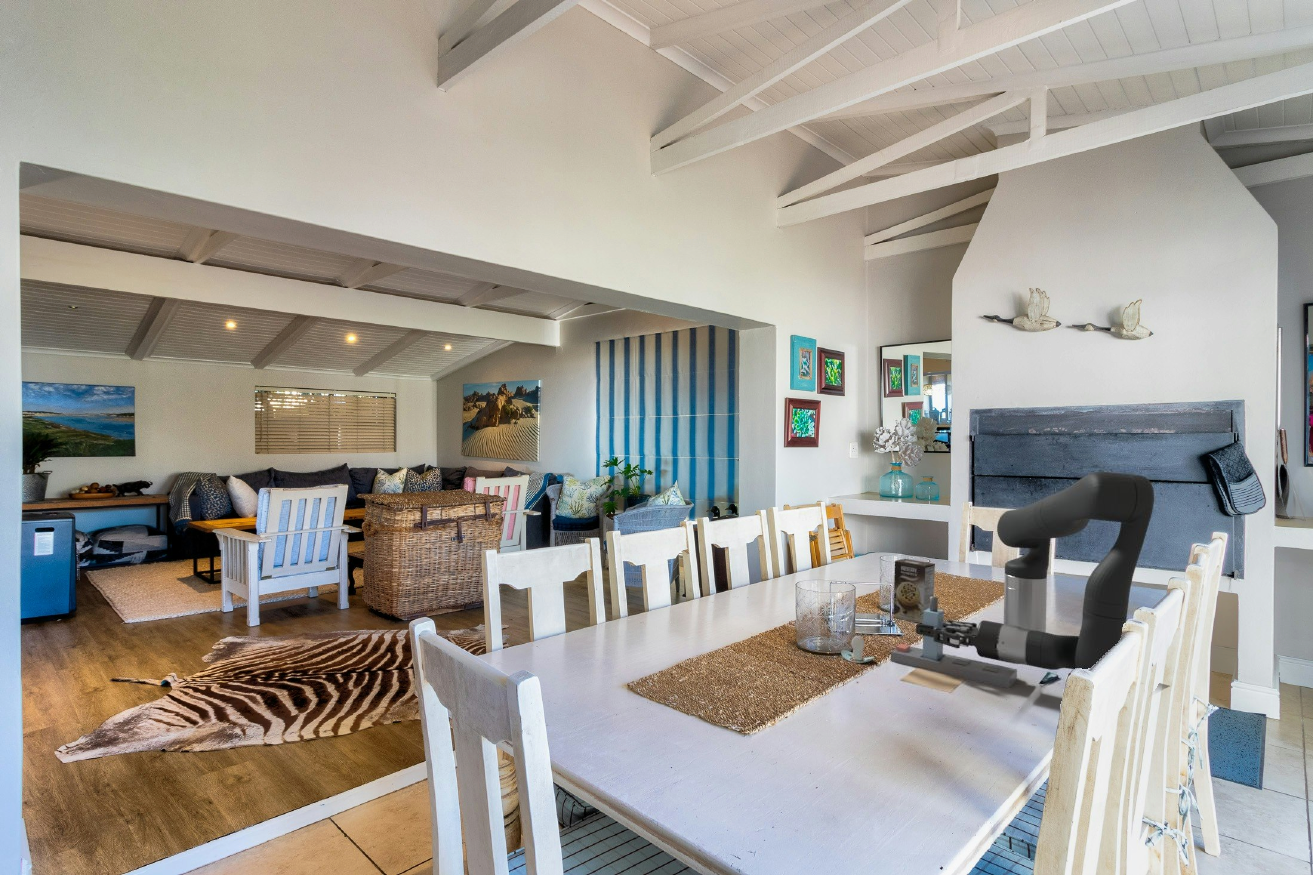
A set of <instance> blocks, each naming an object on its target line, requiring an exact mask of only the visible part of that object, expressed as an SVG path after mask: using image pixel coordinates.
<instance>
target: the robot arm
mask: <svg viewBox="0 0 1313 875" xmlns="http://www.w3.org/2000/svg"><path fill="white" fill-rule="evenodd" d="M1154 504H1155V491H1154V488H1153V484H1152V482H1151V481H1150V479H1148V478H1147V477H1146V476H1143V475H1140V474H1132V473H1121V472H1120V473H1119V472H1110V471H1095V472H1091V473H1089V474H1088V473H1087V474H1086V475H1085V476H1083V477H1082V478H1080V479H1079V480H1078V481H1076V482H1075V483H1073V484H1072V485H1071V486H1069V487H1067V488H1065V489H1063V490H1061V491H1058V492H1055V493H1052V494H1050V495H1048V496H1046V497H1044V498H1042V499H1040V500H1037V501H1035V502H1032V503H1030V504H1029V505H1026V506H1024V507H1022V508H1021V507H1020V508H1017V509H1010V510H1006V511H1005V512H1003V514H1001V515H1000V517H999V519H998V522H997V525H996V532H997V536H998V538H999V540H1000V541H1001V542H1002V544H1004V545H1005V546H1007V547H1010V548H1015V549H1027V551H1026V552H1025V553H1024V554H1023V555H1021V556H1019V557H1017V558H1015V559H1014V558H1013V559H1011V560H1008V561H1007V562H1005V564H1004V583H1003V584H1004V587H1003V588H1004V589H1003V590H1004V593H1003V600H1004V601H1003V623H1002V622H997V621H995V622H994V621H990V620H986V619H985V620H981V621H980V622H979V623H978V624H977V623H975V622H968V621H958V620H957V621H955V620H947V621H944V620H943V628H942V627H934V626H929V625H923V624H920V623H917V624H916V625H915V633H916V635H920V636H923V635H924V636H929V637H933V639H934V641H935V642H938V643H941V644H943V646H949V647H951V648H954V649H960V648H961V647H963V648H969V646H970V647H975V649H976V653H977V655H978V656H979V657H981V658H983V659H984V658H986V659H990V660H995V661H999V662H1005V663H1008V664H1013V665H1022V666H1023V665H1025V666H1029V667H1035V668H1038V669H1039V668H1040V669H1044V670H1048V671H1049V670H1050V671H1052V670H1053V671H1055V670H1060V669H1069V670H1074V669H1075V668H1082V669H1088V668H1091V667H1092V666H1093V665H1094V664H1096V662H1097V661H1099V659H1100V658H1102V656H1103V655H1105V653H1106V652H1108V650H1110V649H1111V648H1112V647H1113V646H1115V644H1117V643H1118V641H1119V640H1120V638H1121V639H1122V636H1123V633H1122V627H1123V624H1124V623H1127V618H1128V610H1129V601H1130V592H1131V587H1132V582H1133V579H1134V575H1135V574H1134V573H1135V570H1136V567H1137V563H1138V561H1139V558H1140V555H1141V552H1142V548H1143V545H1144V542H1145V538H1146V535H1147V532H1148V528H1149V526H1150V523H1151V518H1152V515H1153V511H1154ZM1090 520H1094V521H1095V520H1096V521H1103V522H1114V523H1120V527H1119V528H1120V530H1119V532H1118V536H1117V538H1116V540H1115V543H1114V544H1113V546H1111V549H1109V552H1108V553H1107V554H1106V555H1105V556H1104V557H1103V559H1102V560H1101V561H1100V562H1099V563H1098V564H1097V565H1096V567H1095V568H1094V569H1093V570H1092V571H1091V574H1090V576H1089V577H1088V580H1087V582H1086V584H1085V589H1084V598H1083V605H1082V618H1081V619H1082V621H1081V622H1082V623H1081V626H1080V627H1081V628H1080V631H1079V635H1065V634H1064V635H1062V634H1053V633H1049V632H1046V631H1047V595H1048V592H1047V589H1048V588H1047V587H1048V583H1047V582H1048V581H1047V580H1048V579H1047V578H1048V571H1049V566H1050V564H1049V563H1050V550H1051V540H1052V539H1060V538H1065V537H1069V536H1072V535H1076V534H1077V533H1080V532H1081V531H1083V530H1084V529H1085V528H1086V527H1087V526H1088V524H1089V523H1090ZM940 634H942V635H943V637H942V636H940ZM1121 635H1122V636H1121Z"/></svg>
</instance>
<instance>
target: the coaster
mask: <svg viewBox="0 0 1313 875" xmlns="http://www.w3.org/2000/svg"><path fill="white" fill-rule="evenodd" d="M965 680H966V678H961V677H957V676H953V675H949V674H944V673H940V672H936V671H931V670H927V669H923V668H918V667H915V669H913V670H912V671H910V672H909V673H907V674H906V675H905V676H903V677H902V678H901V679H900V681H902V682H906V683H908V684H909V683H910V684H913V685H918V686H922V687H926V688H929V689H934V690H937V691H941V692H945V693H949V694H951V693H952V692H953V691H955V689H957V688H958V687H959V686H960V685H961V684H962V683H963V682H964V681H965Z"/></svg>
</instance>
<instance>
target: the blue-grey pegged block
mask: <svg viewBox="0 0 1313 875" xmlns="http://www.w3.org/2000/svg"><path fill="white" fill-rule="evenodd" d="M938 599H939V597H938V596H935V595H934V596H930V608H929V609H927V610H925V611H924V615H923V625H929V626H934V627H942V628H943V622H944V616H945V615H944V612H945V611H944V610H943V609H939V608H938V607H939V606H938V605H939V604H938V602H939V600H938ZM940 636H942V637H943V635H942V634H940ZM922 649H923V658H927V659H931V660H936V661H939V660H940V659H942V658H943V654H944V644H941V643H938V642H935V641H934V639H933V637H929V636H924V635H922Z"/></svg>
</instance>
